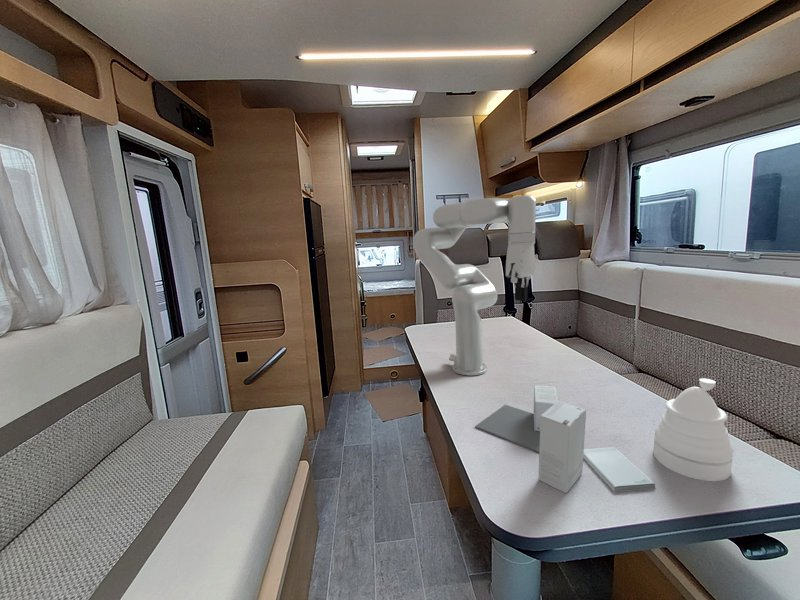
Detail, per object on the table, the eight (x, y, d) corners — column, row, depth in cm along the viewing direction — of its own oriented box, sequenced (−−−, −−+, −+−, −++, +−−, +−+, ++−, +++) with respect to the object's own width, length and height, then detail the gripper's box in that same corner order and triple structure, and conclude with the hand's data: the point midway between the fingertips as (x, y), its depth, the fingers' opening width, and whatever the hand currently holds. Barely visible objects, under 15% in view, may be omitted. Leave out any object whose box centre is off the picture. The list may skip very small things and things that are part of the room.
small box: (554, 413, 98) (558, 434, 88) (533, 411, 100) (534, 431, 90) (556, 386, 96) (559, 404, 87) (533, 384, 98) (535, 402, 88)
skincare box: (555, 462, 78) (557, 398, 76) (584, 474, 74) (587, 407, 71) (537, 481, 73) (538, 413, 70) (567, 496, 68) (569, 424, 66)
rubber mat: (475, 427, 94) (475, 426, 94) (505, 405, 105) (505, 404, 104) (551, 458, 80) (552, 456, 80) (577, 429, 90) (577, 427, 90)
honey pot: (694, 442, 83) (702, 368, 80) (749, 479, 70) (760, 393, 67) (639, 445, 83) (645, 371, 80) (684, 483, 70) (692, 397, 67)
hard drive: (655, 483, 69) (614, 446, 81) (614, 486, 69) (579, 448, 81) (655, 491, 69) (614, 452, 82) (613, 494, 69) (578, 455, 81)
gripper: (521, 238, 114) (521, 295, 118) (497, 240, 104) (497, 302, 107) (544, 237, 109) (543, 297, 112) (521, 240, 99) (521, 305, 102)
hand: (521, 299), depth 110 cm, fingers closed
